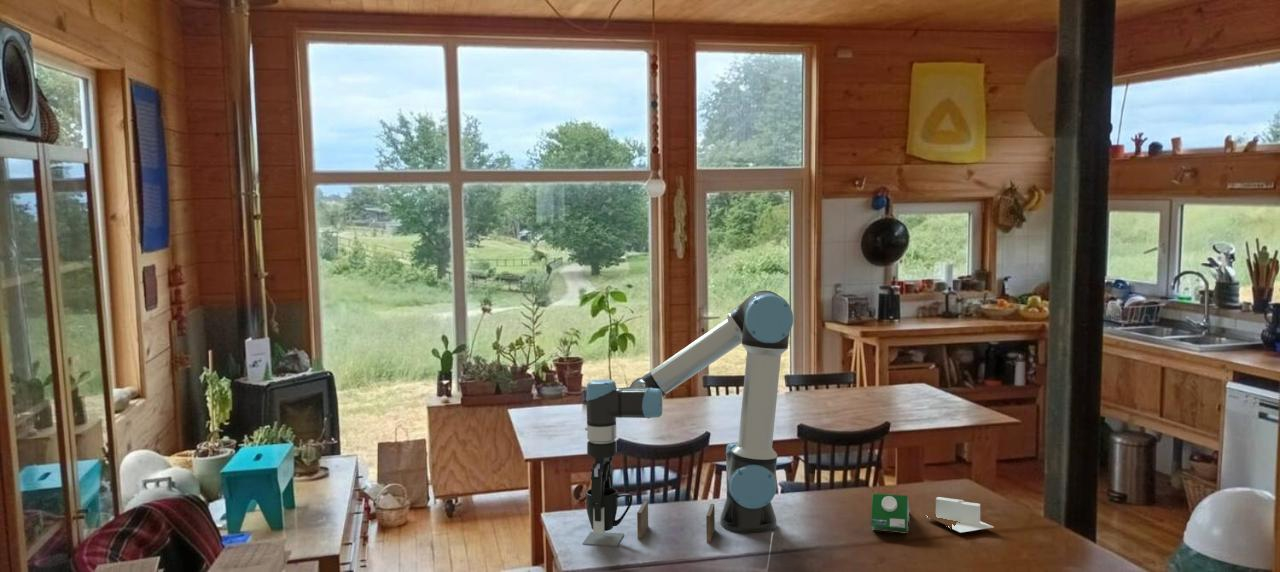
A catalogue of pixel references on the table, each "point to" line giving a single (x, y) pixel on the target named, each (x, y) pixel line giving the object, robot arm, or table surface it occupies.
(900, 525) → the milk carton
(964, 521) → the napkin holder
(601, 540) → the coaster
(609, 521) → the mug
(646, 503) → the rack
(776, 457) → the robot arm
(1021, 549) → the table surface
